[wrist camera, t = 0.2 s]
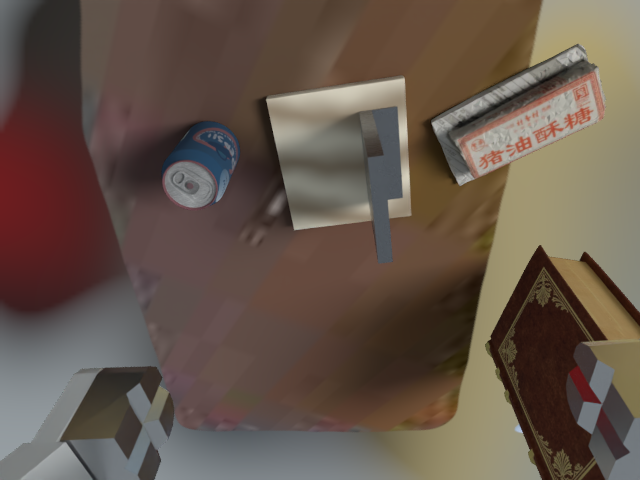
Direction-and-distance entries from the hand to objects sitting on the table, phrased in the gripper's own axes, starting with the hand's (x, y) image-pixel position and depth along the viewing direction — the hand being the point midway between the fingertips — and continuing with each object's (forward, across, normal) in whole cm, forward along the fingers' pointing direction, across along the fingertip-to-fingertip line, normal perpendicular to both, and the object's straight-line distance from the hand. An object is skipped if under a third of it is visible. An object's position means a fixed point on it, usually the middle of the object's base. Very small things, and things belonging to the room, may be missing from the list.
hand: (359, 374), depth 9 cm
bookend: (+46, -3, +15) cm, 49 cm away
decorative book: (+48, -26, +44) cm, 70 cm away
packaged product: (+49, -20, +13) cm, 54 cm away
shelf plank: (+48, +1, +15) cm, 50 cm away
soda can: (+48, +17, +12) cm, 52 cm away
